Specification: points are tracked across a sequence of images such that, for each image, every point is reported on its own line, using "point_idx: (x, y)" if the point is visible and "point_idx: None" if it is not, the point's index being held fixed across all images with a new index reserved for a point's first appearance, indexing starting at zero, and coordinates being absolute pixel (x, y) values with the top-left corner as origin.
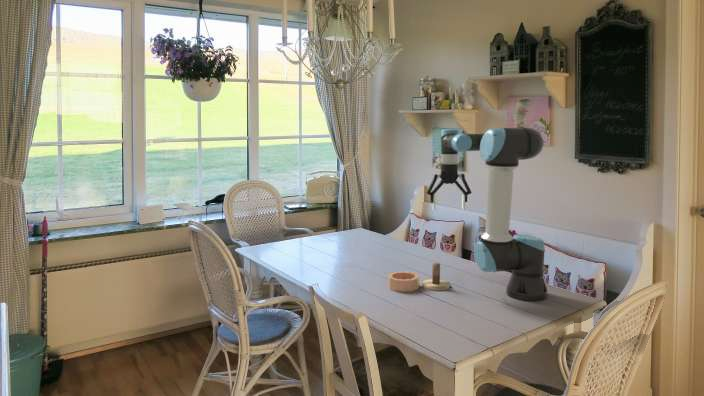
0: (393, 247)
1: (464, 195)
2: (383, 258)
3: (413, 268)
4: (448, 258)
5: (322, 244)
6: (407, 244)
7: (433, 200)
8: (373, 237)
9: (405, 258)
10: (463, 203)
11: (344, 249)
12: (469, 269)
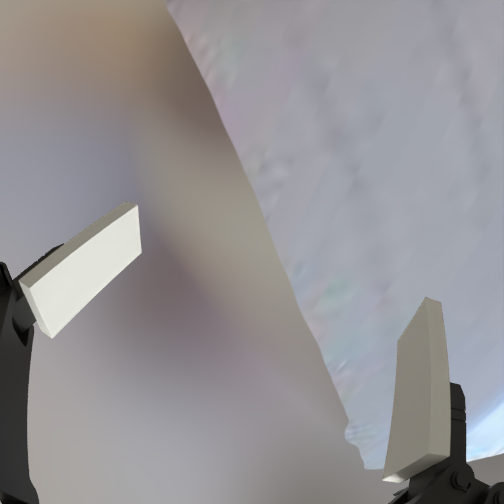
0: (391, 379)
1: (23, 289)
2: (487, 304)
3: (473, 160)
4: (293, 227)
5: (500, 426)
6: (339, 385)
7: (443, 400)
8: (378, 438)
9: (432, 281)
10: (93, 234)
11: (499, 394)
12: (275, 73)
